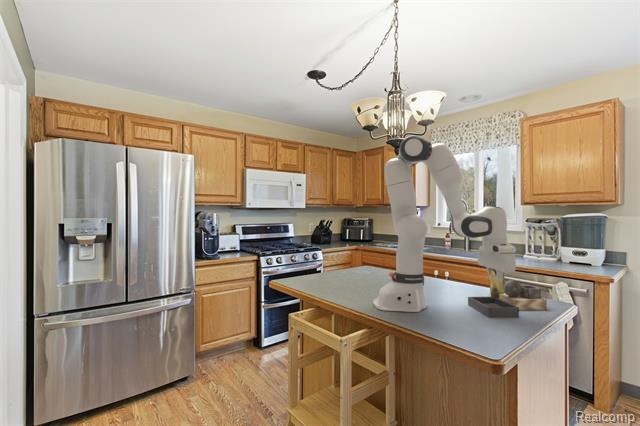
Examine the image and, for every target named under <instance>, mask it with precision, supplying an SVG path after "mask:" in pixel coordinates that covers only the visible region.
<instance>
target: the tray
mask: <svg viewBox="0 0 640 426" xmlns="http://www.w3.org/2000/svg"><path fill="white" fill-rule="evenodd" d="M467 305H468V307H471V308H473V309H474V310H476V311H478V312H479V313H480V314H482V315H484V316H486V317H488V318H519V317H520V310H519V308H518V307H516V306H514V305H512V304H510V303H508V302H505V301H503V300H501V299H499V298H492V297H491V296H467Z"/></svg>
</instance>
